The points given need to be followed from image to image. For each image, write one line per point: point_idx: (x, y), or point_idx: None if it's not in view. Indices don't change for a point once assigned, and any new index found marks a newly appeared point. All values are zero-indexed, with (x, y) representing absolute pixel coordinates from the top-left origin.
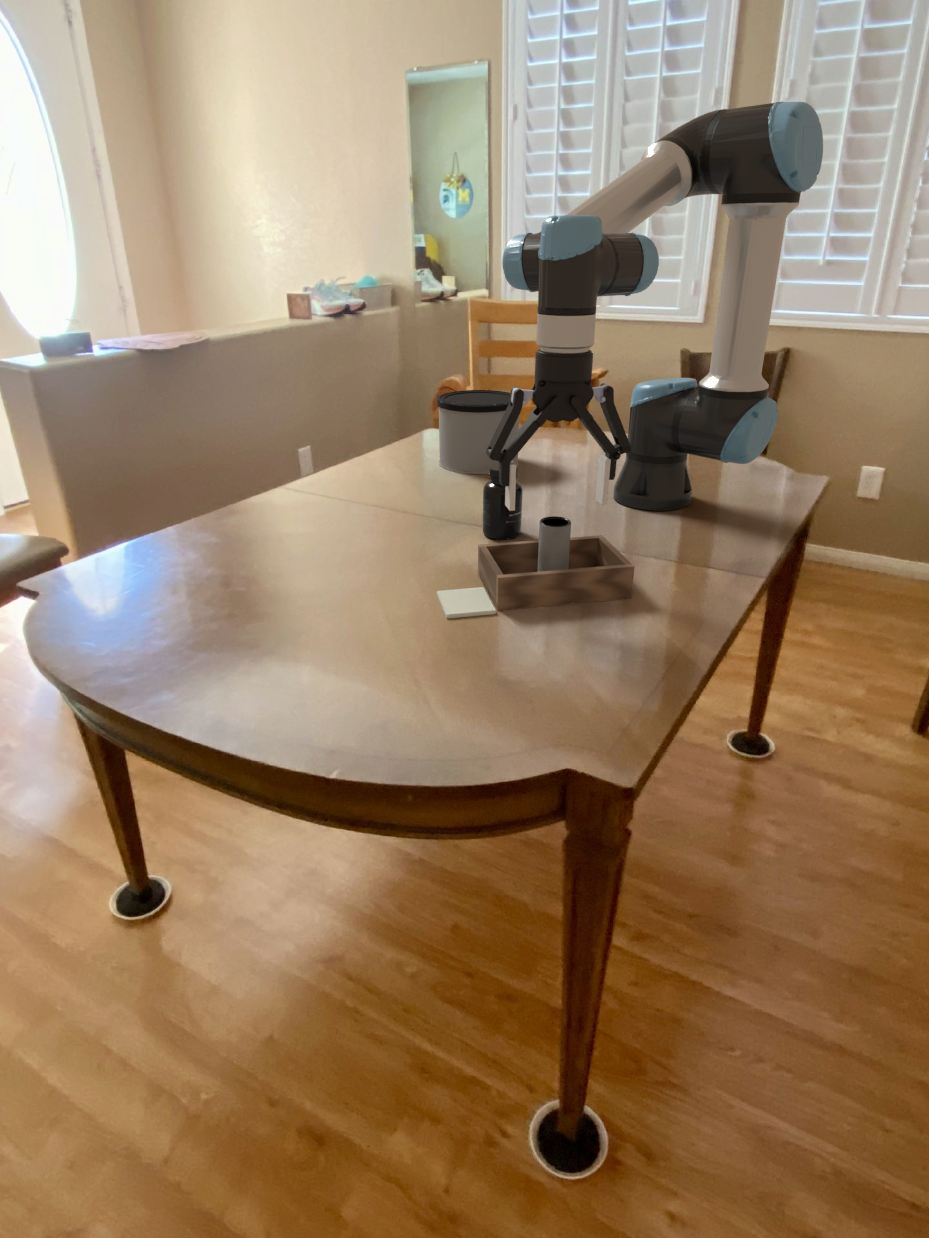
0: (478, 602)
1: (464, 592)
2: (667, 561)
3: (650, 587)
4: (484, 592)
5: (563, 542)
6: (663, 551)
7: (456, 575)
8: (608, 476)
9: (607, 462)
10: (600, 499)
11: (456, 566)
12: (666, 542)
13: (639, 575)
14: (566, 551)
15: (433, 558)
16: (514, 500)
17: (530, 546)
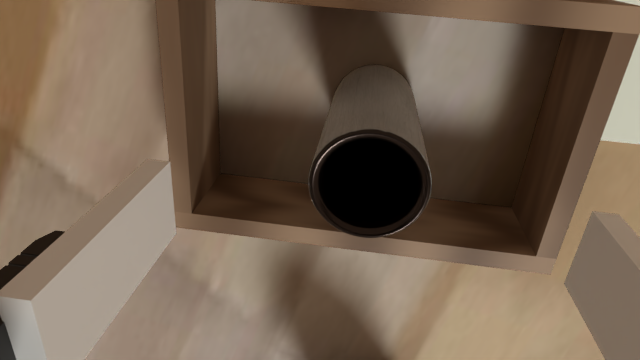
0: (638, 42)
1: (636, 118)
2: (38, 153)
3: (122, 18)
4: None
5: (360, 107)
6: (34, 206)
7: (577, 236)
8: (74, 228)
9: (29, 286)
10: (164, 189)
11: (549, 281)
12: (16, 247)
13: (129, 98)
14: (345, 102)
15: (577, 334)
16: (619, 238)
17: (396, 233)
